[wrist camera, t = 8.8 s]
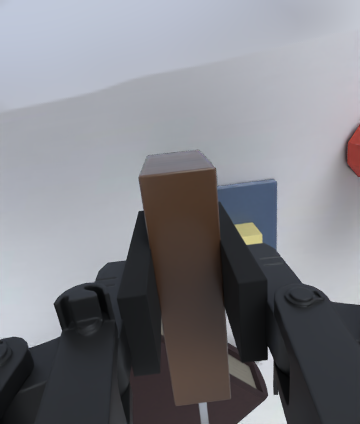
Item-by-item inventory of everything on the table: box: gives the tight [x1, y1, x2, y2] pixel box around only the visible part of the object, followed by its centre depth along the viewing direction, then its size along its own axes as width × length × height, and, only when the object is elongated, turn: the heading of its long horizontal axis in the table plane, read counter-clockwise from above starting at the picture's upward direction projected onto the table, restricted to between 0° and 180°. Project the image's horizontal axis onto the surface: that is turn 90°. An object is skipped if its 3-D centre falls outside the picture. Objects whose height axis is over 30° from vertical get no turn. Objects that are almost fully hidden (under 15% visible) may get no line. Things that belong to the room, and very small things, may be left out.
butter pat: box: [235, 222, 262, 245], centre depth 29 cm, size 8×2×3 cm, turn 7°
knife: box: [139, 150, 231, 424], centre depth 14 cm, size 20×2×4 cm, turn 6°
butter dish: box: [217, 179, 277, 250], centre depth 30 cm, size 14×12×1 cm
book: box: [129, 321, 268, 424], centre depth 35 cm, size 28×20×6 cm
